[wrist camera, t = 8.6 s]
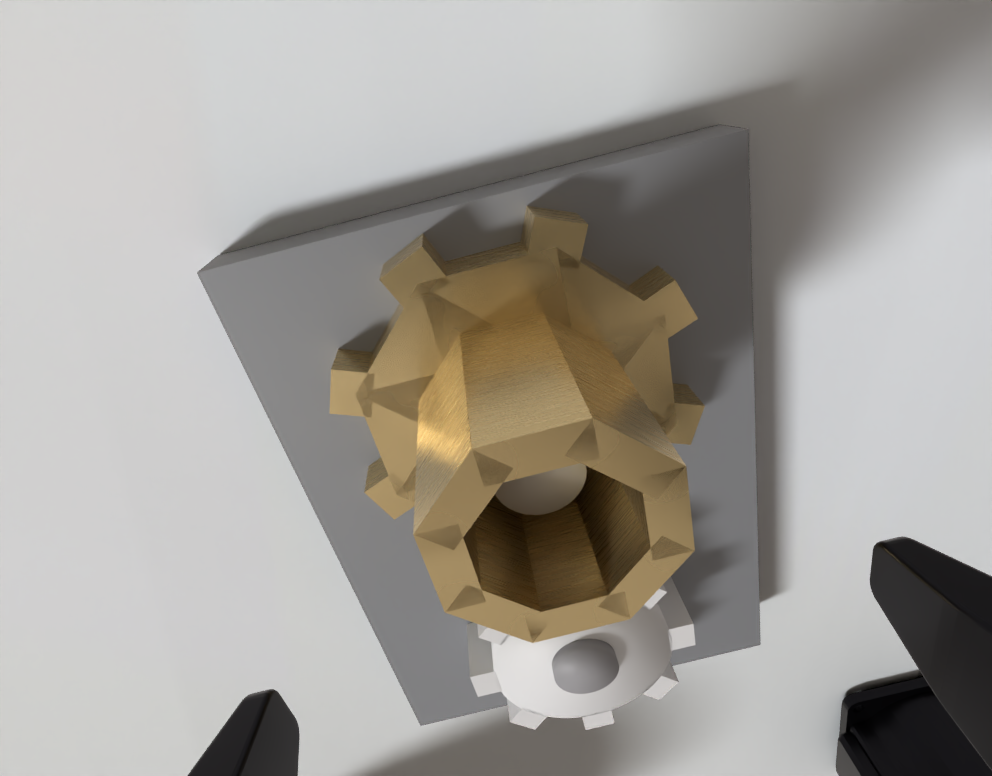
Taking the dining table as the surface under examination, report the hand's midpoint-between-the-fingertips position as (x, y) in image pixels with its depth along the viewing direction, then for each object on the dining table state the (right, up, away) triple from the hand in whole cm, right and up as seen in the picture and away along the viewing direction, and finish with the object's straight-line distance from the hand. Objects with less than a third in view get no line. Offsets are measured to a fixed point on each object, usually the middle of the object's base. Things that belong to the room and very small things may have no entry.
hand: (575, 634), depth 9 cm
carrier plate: (0, +1, +10) cm, 10 cm away
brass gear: (-1, +4, +7) cm, 8 cm away
